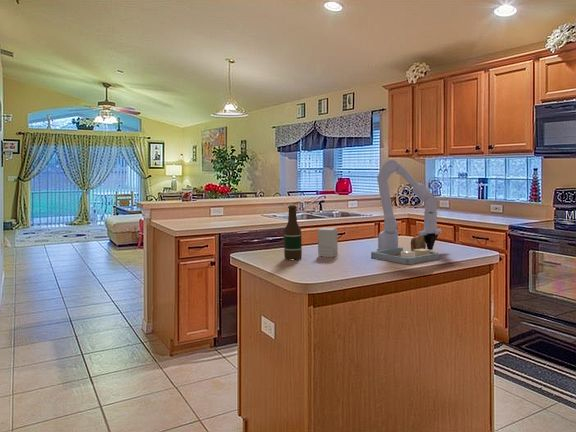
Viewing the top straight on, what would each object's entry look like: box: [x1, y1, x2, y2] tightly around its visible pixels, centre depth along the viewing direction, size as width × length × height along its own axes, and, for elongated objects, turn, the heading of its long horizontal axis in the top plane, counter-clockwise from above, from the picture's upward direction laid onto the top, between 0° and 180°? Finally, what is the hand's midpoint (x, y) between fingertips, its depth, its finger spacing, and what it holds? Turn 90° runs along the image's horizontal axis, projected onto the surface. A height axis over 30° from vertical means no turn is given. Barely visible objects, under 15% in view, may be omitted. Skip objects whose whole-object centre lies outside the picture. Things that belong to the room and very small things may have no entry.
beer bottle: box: [283, 204, 303, 260], centre depth 210 cm, size 8×8×24 cm
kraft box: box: [413, 248, 431, 257], centre depth 207 cm, size 5×5×4 cm
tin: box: [410, 234, 427, 251], centre depth 217 cm, size 15×3×8 cm, turn 147°
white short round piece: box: [400, 250, 415, 258], centre depth 202 cm, size 6×6×4 cm
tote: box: [370, 246, 440, 265], centre depth 208 cm, size 21×20×2 cm
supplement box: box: [317, 227, 339, 258], centre depth 216 cm, size 7×7×13 cm
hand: (430, 249), depth 223 cm, fingers closed
